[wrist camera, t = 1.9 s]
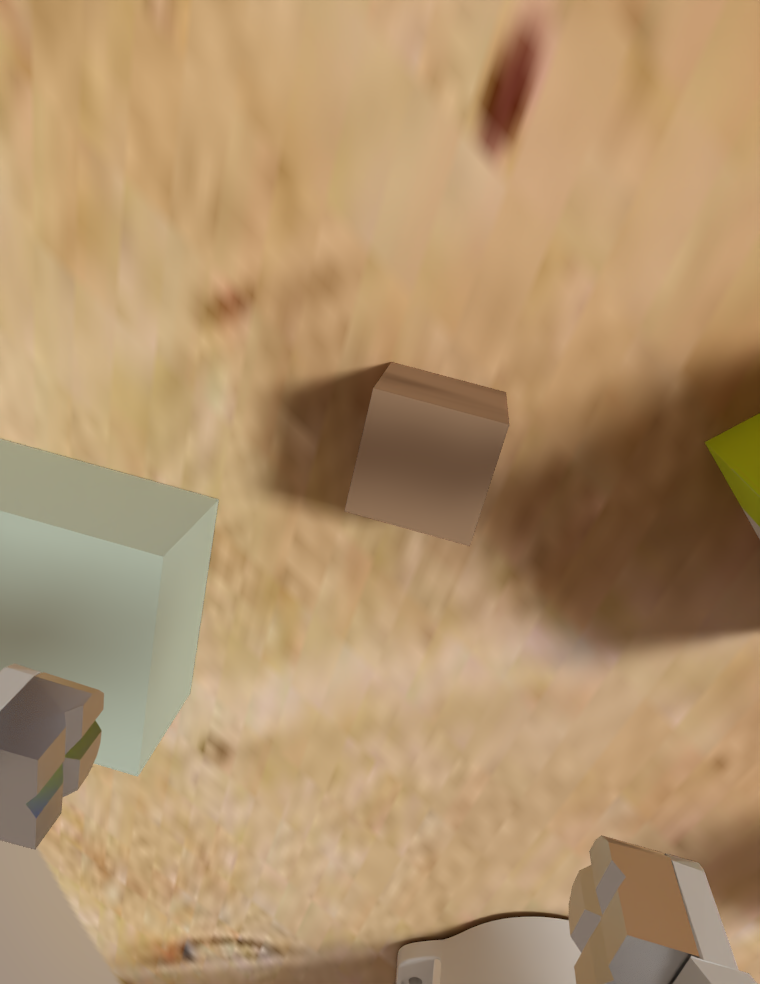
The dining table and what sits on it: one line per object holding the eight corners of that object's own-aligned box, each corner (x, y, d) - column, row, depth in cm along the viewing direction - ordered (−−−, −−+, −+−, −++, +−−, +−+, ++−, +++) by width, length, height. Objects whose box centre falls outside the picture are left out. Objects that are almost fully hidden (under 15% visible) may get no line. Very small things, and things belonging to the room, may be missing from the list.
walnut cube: (472, 497, 30) (469, 546, 26) (365, 467, 31) (344, 511, 26) (505, 391, 28) (509, 424, 24) (391, 361, 29) (373, 388, 24)
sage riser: (189, 693, 37) (137, 776, 31) (-16, 633, 37) (-102, 704, 32) (218, 499, 32) (163, 556, 27) (-17, 433, 33) (-119, 477, 27)
